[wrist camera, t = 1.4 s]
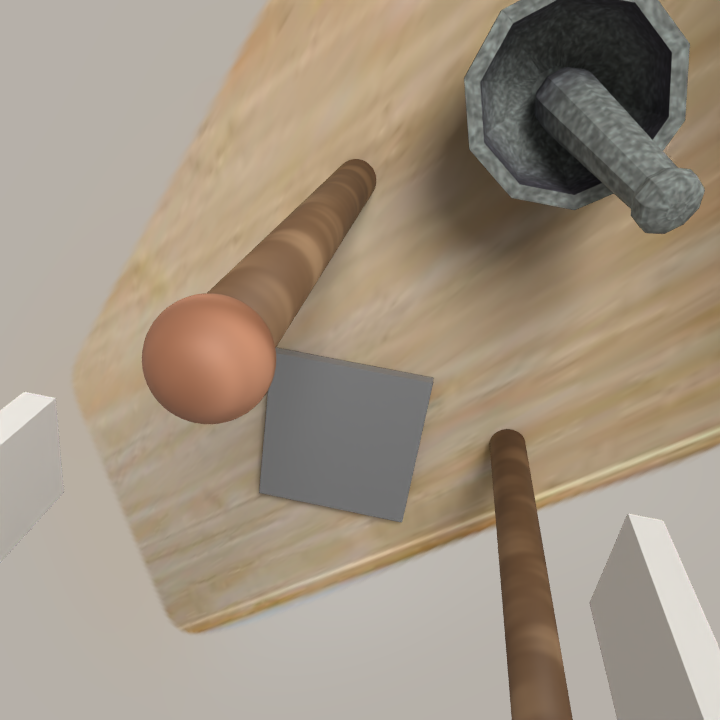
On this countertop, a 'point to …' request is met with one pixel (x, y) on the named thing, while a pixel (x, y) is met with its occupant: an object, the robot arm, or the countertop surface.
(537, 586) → the post
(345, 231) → the post
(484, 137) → the mortar and pestle
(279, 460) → the slate pad
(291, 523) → the countertop surface
